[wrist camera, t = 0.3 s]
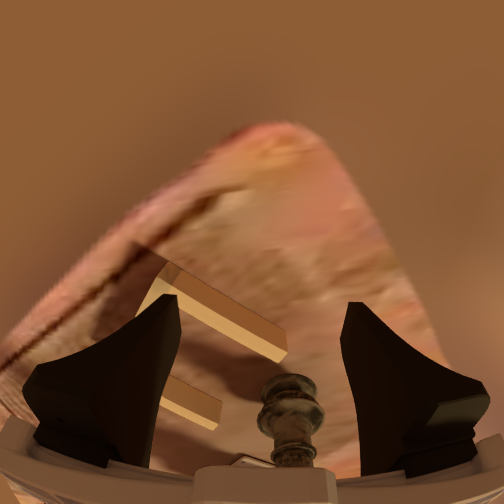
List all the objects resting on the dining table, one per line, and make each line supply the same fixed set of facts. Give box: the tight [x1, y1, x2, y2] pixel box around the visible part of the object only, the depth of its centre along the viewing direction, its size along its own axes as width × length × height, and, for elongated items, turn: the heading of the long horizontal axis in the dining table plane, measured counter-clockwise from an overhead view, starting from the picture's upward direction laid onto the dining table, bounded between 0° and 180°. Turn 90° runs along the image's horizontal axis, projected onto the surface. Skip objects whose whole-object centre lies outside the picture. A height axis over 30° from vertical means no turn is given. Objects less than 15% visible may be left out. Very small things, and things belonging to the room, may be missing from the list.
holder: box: [135, 262, 288, 430], centre depth 24 cm, size 11×11×3 cm
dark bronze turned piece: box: [257, 374, 325, 468], centre depth 22 cm, size 6×6×12 cm
